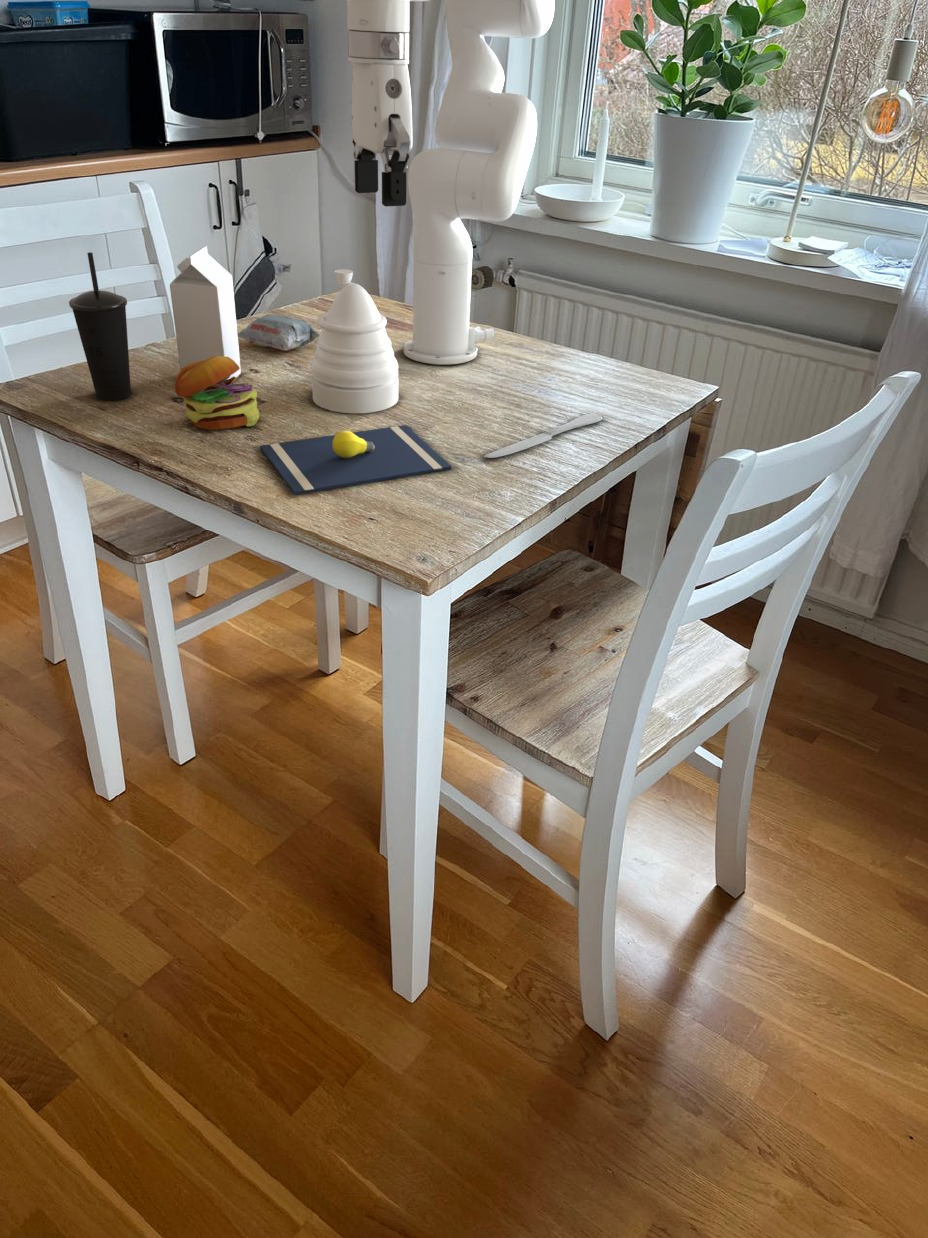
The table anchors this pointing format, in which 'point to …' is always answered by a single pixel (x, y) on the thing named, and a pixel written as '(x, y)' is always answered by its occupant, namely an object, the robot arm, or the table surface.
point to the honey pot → (353, 354)
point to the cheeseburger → (216, 395)
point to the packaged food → (279, 332)
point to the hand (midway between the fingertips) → (380, 198)
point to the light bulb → (350, 445)
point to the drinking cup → (104, 338)
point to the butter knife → (546, 435)
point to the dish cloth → (352, 460)
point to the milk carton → (204, 311)
